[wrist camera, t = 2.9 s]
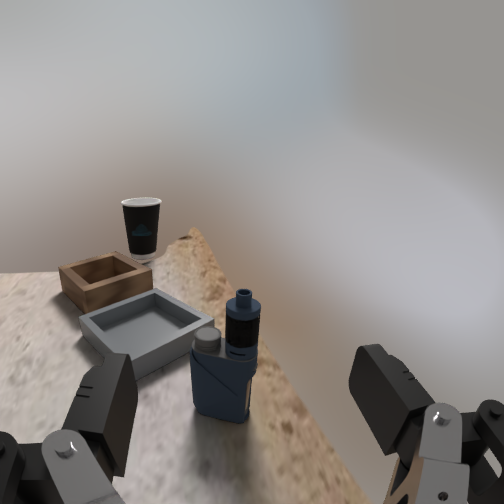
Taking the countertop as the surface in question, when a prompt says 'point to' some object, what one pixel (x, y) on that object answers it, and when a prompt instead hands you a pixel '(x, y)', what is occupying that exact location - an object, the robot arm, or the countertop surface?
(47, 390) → the countertop surface
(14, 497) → the robot arm
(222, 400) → the vaping device
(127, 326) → the tray
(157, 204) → the dixie cup
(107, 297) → the hollow wooden square
